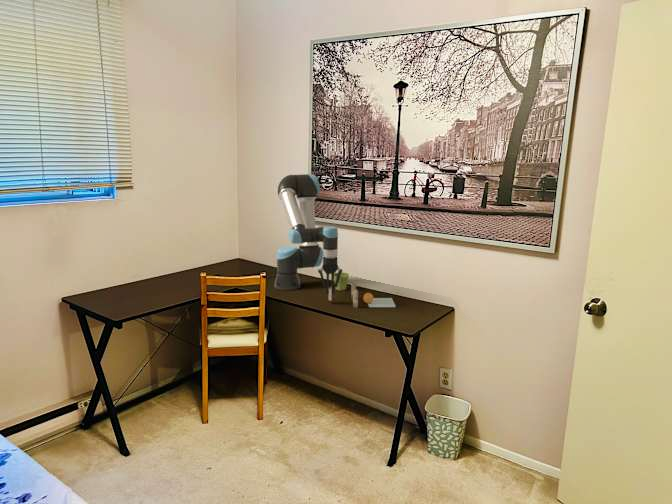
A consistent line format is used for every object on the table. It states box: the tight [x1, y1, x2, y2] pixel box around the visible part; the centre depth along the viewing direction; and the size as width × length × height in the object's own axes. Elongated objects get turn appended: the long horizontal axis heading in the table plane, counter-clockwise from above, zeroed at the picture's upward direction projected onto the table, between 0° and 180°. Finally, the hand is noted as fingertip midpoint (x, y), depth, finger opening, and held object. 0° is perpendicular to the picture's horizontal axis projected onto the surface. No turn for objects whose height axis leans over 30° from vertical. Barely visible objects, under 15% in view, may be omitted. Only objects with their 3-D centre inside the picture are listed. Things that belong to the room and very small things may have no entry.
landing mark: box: [367, 297, 396, 308], centre depth 264 cm, size 14×14×1 cm
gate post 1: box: [350, 282, 357, 301], centre depth 269 cm, size 3×3×9 cm
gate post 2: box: [352, 289, 359, 309], centre depth 256 cm, size 3×3×9 cm
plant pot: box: [334, 272, 350, 291], centre depth 286 cm, size 9×9×9 cm
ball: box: [362, 292, 374, 304], centre depth 263 cm, size 6×6×6 cm
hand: (330, 299), depth 262 cm, fingers closed
